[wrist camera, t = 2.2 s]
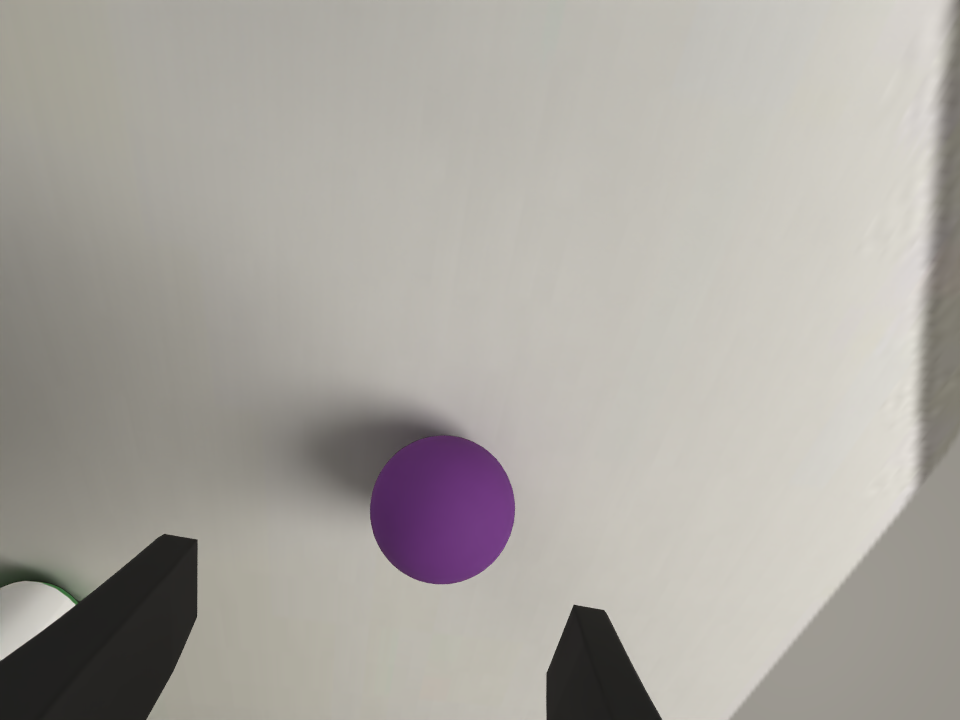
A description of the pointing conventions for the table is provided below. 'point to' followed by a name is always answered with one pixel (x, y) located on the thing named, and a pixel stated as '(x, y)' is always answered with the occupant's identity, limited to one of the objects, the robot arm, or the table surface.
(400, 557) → the ball
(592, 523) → the table surface
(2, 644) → the cup
